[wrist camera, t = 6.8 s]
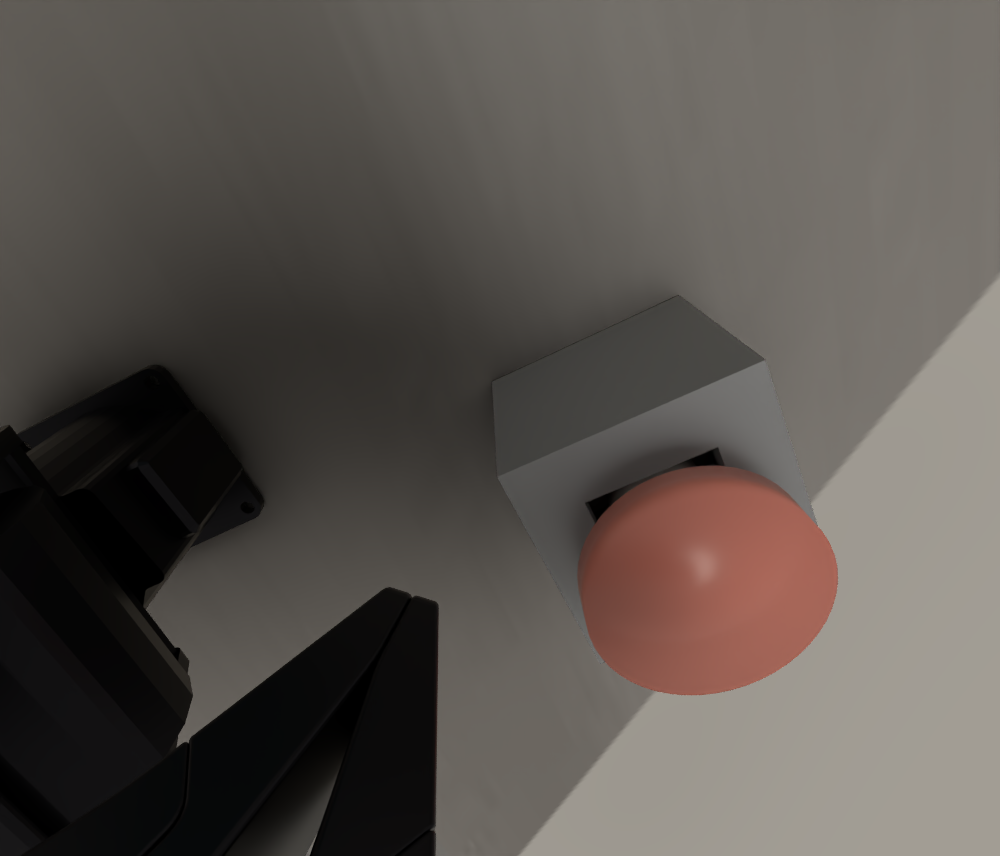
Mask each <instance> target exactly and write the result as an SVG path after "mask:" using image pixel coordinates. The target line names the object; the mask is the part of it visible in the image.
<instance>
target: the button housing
mask: <svg viewBox="0 0 1000 856" xmlns="http://www.w3.org/2000/svg"><path fill="white" fill-rule="evenodd" d="M492 392H493V411H494V430H495V449H496V468H497V478H498V480H499V482H500V483H501V485H502V487H503V489H504V491H505V493H506V494H507V496H508V498H509V500H510V502H511V503H512V505H513V507H514V509H515V511H516V512H517V514H518V516H519V518H520V520H521V522H522V523H523V525H524V527H525V529H526V531H527V532H528V534H529V536H530V538H531V540H532V541H533V543H534V545H535V547H536V549H537V551H538V552H539V554H540V556H541V558H542V560H543V561H544V563H545V565H546V567H547V569H548V570H549V572H550V574H551V576H552V578H553V580H554V581H555V583H556V585H557V587H558V589H559V590H560V592H561V594H562V596H563V598H564V599H565V601H566V603H567V605H568V607H569V609H570V610H571V612H572V614H573V616H574V618H575V619H576V621H577V623H578V625H579V627H580V628H581V630H582V632H583V634H584V636H585V638H586V639H587V641H588V643H589V645H590V647H591V648H592V650H593V652H594V654H595V656H596V657H597V659H598V661H599V663H600V664H601V663H604V662H605V661H604V660H603V659H602V658H601V656H600V655H599V653H598V652H597V650H596V649H595V647H594V645H593V643H592V641H591V639H590V636H589V633H588V629H587V625H586V621H585V617H584V612H583V608H582V603H581V599H580V594H579V590H578V580H577V572H578V562H579V558H580V554H581V550H582V548H583V545H584V543H585V540H586V538H587V536H588V534H589V533H590V531H591V529H592V527H593V526H594V524H595V523H596V522H597V521H598V519H599V518H600V517H601V515H602V514H603V513H604V512H605V511H606V510H607V509H608V508H609V506H608V503H607V500H606V497H605V494H608V493H610V492H612V491H615V490H617V489H620V488H622V487H624V486H627V485H629V484H631V483H634V482H636V481H639V480H641V479H643V478H646V477H648V476H651V475H653V474H655V473H658V472H660V471H662V470H665V469H667V468H670V467H672V466H674V465H677V464H679V463H682V462H684V461H686V460H689V459H692V461H693V462H694V464H695V465H696V467H697V466H726V467H735V468H739V469H743V470H747V471H751V472H753V473H756V474H759V475H761V476H764V477H765V478H767V479H769V480H771V481H772V482H774V483H776V484H777V485H779V486H780V487H781V488H782V489H784V490H785V491H786V492H787V493H788V494H789V495H790V496H791V497H792V498H793V499H794V500H795V501H796V503H797V504H798V505H799V506H800V507H801V508H802V509H803V510H804V512H805V513H806V514H807V515H808V516H809V517H810V518H811V519H812V521H813V522H814V523H815V524H816V525H817V522H816V519H815V516H814V512H813V509H812V506H811V503H810V499H809V496H808V493H807V490H806V487H805V484H804V480H803V477H802V474H801V471H800V468H799V464H798V461H797V458H796V455H795V452H794V448H793V445H792V442H791V439H790V436H789V433H788V429H787V426H786V423H785V420H784V417H783V413H782V410H781V407H780V404H779V401H778V397H777V394H776V391H775V388H774V385H773V381H772V378H771V375H770V372H769V369H768V366H767V362H766V360H765V359H764V358H763V357H761V356H760V355H759V354H757V353H756V352H755V351H753V350H752V349H751V348H749V347H748V346H746V345H745V344H744V343H742V342H741V341H740V340H738V339H737V338H736V337H734V336H733V335H732V334H730V333H729V332H728V331H726V330H725V329H724V328H722V327H721V326H720V325H718V324H717V323H716V322H714V321H713V320H712V319H710V318H709V317H708V316H706V315H705V314H704V313H702V312H701V311H700V310H698V309H697V308H695V307H694V306H693V305H691V304H690V303H689V302H687V301H686V300H685V299H683V298H682V297H681V296H679V295H678V296H676V297H674V298H672V299H669V300H667V301H665V302H663V303H661V304H659V305H656V306H654V307H652V308H650V309H648V310H646V311H643V312H641V313H639V314H637V315H635V316H633V317H631V318H628V319H626V320H624V321H622V322H620V323H618V324H615V325H613V326H611V327H609V328H607V329H605V330H602V331H600V332H598V333H596V334H594V335H592V336H590V337H587V338H585V339H583V340H581V341H579V342H577V343H574V344H572V345H570V346H568V347H566V348H564V349H561V350H559V351H557V352H555V353H553V354H551V355H548V356H546V357H544V358H542V359H540V360H538V361H536V362H533V363H531V364H529V365H527V366H525V367H523V368H520V369H518V370H516V371H514V372H512V373H510V374H507V375H505V376H503V377H501V378H499V379H497V380H495V381H492ZM817 526H818V525H817Z"/></svg>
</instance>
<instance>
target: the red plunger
mask: <svg viewBox="0 0 1000 856" xmlns="http://www.w3.org/2000/svg"><path fill="white" fill-rule="evenodd" d="M605 497H606V500H607V503H608V506H609V508H608V509H607V510H606V511H605V512H604V513H603V514H602V515H601V517H600V518H599V519H598V521H597V522H596V523H595V524H594V526H593V527H592V529H591V531H590V533H589V534H588V536H587V538H586V540H585V543H584V545H583V548H582V550H581V554H580V558H579V562H578V572H577V580H578V590H579V594H580V599H581V603H582V608H583V612H584V617H585V621H586V625H587V629H588V633H589V636H590V639H591V641H592V643H593V645H594V647H595V649H596V650H597V652H598V653H599V655H600V656H601V658H602V659H603V660H604V661H605V662H606V663H607V664H608V665H609V667H611V668H612V669H613V670H614V671H616V672H617V673H618V674H619V675H621V676H622V677H624V678H626V679H627V680H629V681H631V682H633V683H635V684H637V685H640V686H642V687H645V688H648V689H651V690H654V691H658V692H664V693H669V694H677V695H705V694H713V693H720V692H725V691H729V690H733V689H736V688H740V687H743V686H746V685H749V684H751V683H754V682H756V681H758V680H761V679H763V678H765V677H767V676H769V675H770V674H772V673H774V672H776V671H777V670H779V669H780V668H782V667H784V666H785V665H787V664H788V663H789V662H791V661H792V660H793V659H794V658H795V657H797V656H798V655H799V654H800V653H801V652H802V651H803V650H804V649H805V648H806V647H807V646H808V645H809V644H810V643H811V642H812V641H813V639H814V638H815V637H816V636H817V634H818V633H819V632H820V630H821V629H822V627H823V625H824V624H825V622H826V621H827V618H828V616H829V614H830V612H831V609H832V607H833V604H834V600H835V597H836V592H837V584H838V572H837V564H836V559H835V555H834V553H833V550H832V548H831V545H830V543H829V541H828V540H827V538H826V537H825V535H824V533H823V532H822V531H821V529H820V528H819V527H818V526H817V525H816V524H815V523H814V522H813V521H812V519H811V518H810V517H809V516H808V515H807V514H806V513H805V512H804V510H803V509H802V508H801V507H800V506H799V505H798V504H797V503H796V501H795V500H794V499H793V498H792V497H791V496H790V495H789V494H788V493H787V492H786V491H785V490H784V489H782V488H781V487H780V486H779V485H777V484H776V483H774V482H772V481H771V480H769V479H767V478H765V477H764V476H761V475H759V474H756V473H753V472H751V471H747V470H743V469H739V468H735V467H726V466H697V467H696V465H695V464H694V462H693V461H692V459H689V460H686V461H684V462H682V463H679V464H677V465H674V466H672V467H670V468H667V469H665V470H662V471H660V472H658V473H655V474H653V475H651V476H648V477H646V478H643V479H641V480H639V481H636V482H634V483H631V484H629V485H627V486H624V487H622V488H620V489H617V490H615V491H612V492H610V493H608V494H605Z"/></svg>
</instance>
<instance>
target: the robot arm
mask: <svg viewBox="0 0 1000 856" xmlns="http://www.w3.org/2000/svg"><path fill="white" fill-rule="evenodd" d="M150 376H154V377H156V378H157V379H158V380H159V383H160V385H159V386H157V385H154V384H153V383H152V382H151V380H150ZM24 442H27V443H28V444H30V446H31V447H32V449H30V448H28V447H27V446H26V445H25V443H24ZM244 502H250V503H251V504H253V506H254V508H250V507H247V506H246V505H245V503H244ZM263 507H264V500H263V498H262V496H261V495H260V494H259V492H258V491H257V489H256V488H255V487H254V485H253V484H252V483H251V481H250V480H249V479H248V477H247V476H246V475H245V473H244V472H243V471H242V465H241V464H240V462H239V461H238V460H237V458H236V457H235V456H234V454H233V453H232V452H231V450H230V449H229V448H228V446H227V445H226V444H225V442H224V441H223V440H222V438H221V437H220V435H219V434H218V433H217V431H216V430H215V429H214V427H213V426H212V425H211V423H210V422H209V421H208V419H207V418H206V417H205V415H204V414H203V413H202V412H200V411H198V410H197V409H196V408H195V406H194V405H193V404H192V402H191V401H190V400H189V398H188V397H187V396H186V394H185V393H184V392H183V390H182V389H181V388H180V386H179V385H178V384H177V382H176V381H175V380H174V378H173V377H172V376H171V374H170V373H169V372H168V371H167V370H166V369H165V368H163V367H161V366H158V365H151V366H148V367H146V368H144V369H142V370H140V371H138V372H136V373H134V374H132V375H130V376H128V377H126V378H125V379H123V380H121V381H119V382H117V383H115V384H113V385H111V386H109V387H107V388H105V389H103V390H101V391H99V392H97V393H95V394H94V395H92V396H90V397H88V398H86V399H84V400H82V401H80V402H78V403H76V404H74V405H72V406H70V407H68V408H66V409H64V410H62V411H61V412H59V413H57V414H55V415H53V416H51V417H49V418H47V419H45V420H43V421H41V422H39V423H37V424H35V425H33V426H31V427H30V428H28V429H26V430H24V431H22V432H20V433H19V434H16V432H15V431H14V430H13V429H12V427H11V426H10V425H7V426H4V427H1V428H0V856H305V855H306V853H307V852H308V850H309V848H310V846H311V844H312V842H313V840H314V838H315V836H316V834H317V836H316V839H315V842H314V845H313V848H312V851H311V854H310V856H436V833H435V827H436V769H437V693H438V617H439V608H438V603H437V602H435V601H432V600H429V599H426V598H423V597H420V596H414V597H413V598H412V596H411V595H410V594H409V593H407V592H404V591H401V590H398V589H395V588H391V587H388V588H385V589H383V590H382V591H380V592H379V593H378V594H376V595H375V596H374V597H372V598H371V599H370V600H369V601H367V602H366V603H365V604H363V605H362V606H361V607H359V608H358V609H357V610H356V611H354V612H353V613H352V614H350V615H349V616H348V617H346V618H345V619H344V620H343V621H341V622H340V623H339V624H337V625H336V626H335V627H333V628H332V629H331V630H330V631H328V632H327V633H326V634H324V635H323V636H322V637H321V638H319V639H318V640H317V641H315V642H314V643H313V644H311V645H310V646H309V647H308V648H306V649H305V650H304V651H302V652H301V653H300V654H298V655H297V656H296V657H295V658H293V659H292V660H291V661H289V662H288V663H287V664H285V665H284V666H283V667H282V668H280V669H279V670H278V671H276V672H275V673H274V674H272V675H271V676H270V677H269V678H267V679H266V680H265V681H263V682H262V683H261V684H259V685H258V686H257V687H256V688H254V689H253V690H252V691H250V692H249V693H248V694H246V695H245V696H244V697H243V698H241V699H240V700H239V701H237V702H236V703H235V704H233V705H232V706H231V707H230V708H228V709H227V710H226V711H224V712H223V713H222V714H220V715H219V716H218V717H217V718H215V719H214V720H213V721H211V722H210V723H209V724H207V725H206V726H205V727H204V728H202V729H201V730H200V731H198V732H197V733H196V734H194V735H193V736H192V737H191V738H190V740H189V743H187V742H184V743H182V744H181V745H180V746H178V747H177V740H178V735H179V733H180V731H181V729H182V728H183V726H184V724H185V721H186V718H187V715H188V711H189V708H190V704H191V701H192V697H193V693H192V688H191V682H190V677H189V675H188V674H187V673H188V667H189V660H188V658H187V657H186V656H185V654H184V653H183V652H182V650H181V649H180V648H178V647H177V648H175V647H174V646H173V645H172V644H171V642H170V641H169V640H168V638H167V637H166V636H165V634H164V633H163V632H162V630H161V629H160V628H159V627H158V625H157V624H156V623H155V621H154V620H153V619H152V617H151V616H150V615H149V613H148V612H147V611H146V610H145V609H146V608H147V606H148V605H149V604H150V602H151V601H152V599H153V598H154V597H155V595H156V594H157V592H158V591H159V590H160V588H161V587H162V586H163V584H164V583H165V581H166V580H167V579H168V577H169V576H170V574H171V573H172V572H173V570H174V569H175V568H176V566H177V565H178V563H179V562H180V561H181V559H182V558H183V556H184V555H185V554H186V552H187V551H188V550H189V548H190V547H192V546H195V545H197V544H199V543H201V542H203V541H206V540H208V539H210V538H212V537H214V536H217V535H219V534H221V533H223V532H225V531H228V530H230V529H232V528H234V527H236V526H239V525H241V524H243V523H245V522H247V521H249V520H252V519H254V518H256V517H257V516H258V515H259V514H260V512H261V511H262V509H263ZM176 747H177V748H176ZM317 832H318V833H317Z"/></svg>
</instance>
